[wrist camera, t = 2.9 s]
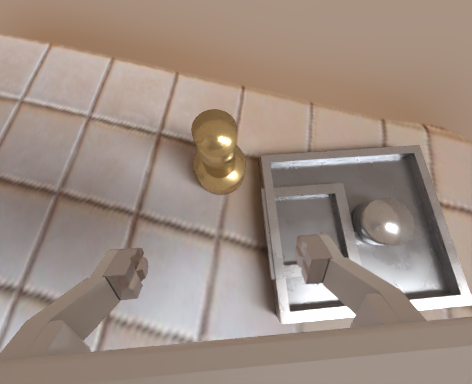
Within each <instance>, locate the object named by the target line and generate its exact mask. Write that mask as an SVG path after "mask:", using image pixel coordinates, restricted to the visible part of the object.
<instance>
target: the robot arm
mask: <svg viewBox="0 0 472 384" xmlns="http://www.w3.org/2000/svg"><path fill="white" fill-rule="evenodd" d="M296 242H297V244H298V245H297V246H296V247H295V258H296V262H297V264H298V266H300V267H301V268H302V269H301V274H302V276H303V279H304V281H305V284H319V283H323V285H324V286H325V287H326V288H327V289H328V290H329V291H330V292H331V293H333V294H334V295H335V296H336V297H337V298H338V299H339V300H340V301H341V302H342V303H343V304H344V305H345V306H347V307H348V308H349V309H350V310H351V311H352V312H353V313H354V314H355V315H356V316H355V318H354V320H353V321H352V323H351V326H350V327H351V328H344V329H334V330H323V331H312V332H301V333H290V334H279V335H268V336H257V337H246V338H235V339H224V340H213V341H203V342H192V343H181V344H170V345H159V346H149V347H138V348H127V349H116V350H105V351H95V352H90V351H91V350H90V347H89V346H88V345H87V344H86V343H85V342H84V339H85V338H86V337H87V336H88V335H89V334H90V333H91V332H92V331H93V330H94V329H95V328H96V327H97V325H98V324H99V323H100V322H101V321H102V320H103V319H104V318H105V317H106V316H107V315H108V314H109V313H110V311H111V310H112V309H113V308H114V307H115V306H116V305H117V304H118V303H119V302H120V301H119V300H128V299H137V298H138V296H139V293H140V291H141V288H142V286H143V285H142V283H141V281H142V280H143V279H145V278H146V275H147V272H148V262H147V259H146V258H144V257H143V254H144V252H143V250H142V248H130V249H114V250H109V251H108V252H107V253H106V254H105V256H104V257H103V259H102V260H101V262H100V263H99V265H98V266H97V268H96V269H95V271H94V272H93V274H92V275H91V277H90V278H86V279H85V280H83V281H82V282H81V283H79V284H78V285H77V286H75V287H74V288H72V289H71V290H70V291H68V292H67V293H65V294H64V295H63V296H61V297H60V298H58V299H57V300H56V301H54V302H53V303H51V304H50V305H49V306H47V307H46V308H45V309H43V310H42V311H40V312H39V313H38V314H36V315H35V316H33V317H32V318H31V319H29V320H28V321H26V322H25V323H24V325H23V326H22V327H21V328H20V330H19V331H18V332H17V333H16V334H15V336H14V337H13V338H12V339H11V341H10V342H9V343H8V344H7V346H6V347H5V348H4V349H3V351H2V352H1V353H0V384H472V317H463V318H452V319H441V320H431V321H426V319H425V318H424V317H423V316H422V315H421V314H420V312H419V311H418V310H417V309H416V308H415V306H414V305H413V304H412V303H411V302H410V300H409V299H408V298H407V297H406V296H405V294H404V293H403V292H402V291H401V290H400V289H398V288H397V287H395V286H393V285H392V284H390V283H388V282H387V281H385V280H383V279H382V278H380V277H378V276H377V275H375V274H374V273H372V272H370V271H369V270H367V269H365V268H364V267H362V266H360V265H359V264H357V263H355V262H354V261H352V260H351V259H349V258H347V257H346V258H344V257H343V255H342V254H341V252H340V251H339V249H338V248H337V246H336V245H335V244H334V242H333V241H332V239H331V238H330V236H329V235H328V234H327V233H324V234H313V235H301V236H298V237H297V240H296Z"/></svg>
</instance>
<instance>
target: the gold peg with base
mask: <svg viewBox="0 0 472 384" xmlns="http://www.w3.org/2000/svg"><path fill="white" fill-rule="evenodd" d="M191 131H192V136H193V138H194V141H195V144H196V146H197V149H198V151H197V153H196V155H195V158H194V163H193V166H194V171H195V174H196V176H197V178H198V180H199V181H200V183H201V185H202V186H203V187H204V188H205V189H206V190H207V191H209V192H210V193H213V194H217V195H225V194H229V193H231V192H233V191H235V190H236V189H237V188H238V187H239V186H240V185H241V183H242V181H243V178H244V173H245V167H246V160H245V156H244V154H243V152H242V151H241V149H240V148H239V147H238V146H237V145H236V139H237V125H236V122H235V120H234V119H233V117H232V116H231V115H230V114H228V113H227V112H225V111H222V110H217V109H212V110H207V111H204V112H202V113H201V114H199V115H198V116H197V117H196V118H195V120H194V122H193V124H192V129H191Z"/></svg>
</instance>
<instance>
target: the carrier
mask: <svg viewBox="0 0 472 384" xmlns="http://www.w3.org/2000/svg"><path fill="white" fill-rule="evenodd" d="M259 171H260V180H261V188H262V189H261V190H260V193H261V202H262V210H263V219H264V228H265V236H266V245H267V254H268V263H269V271H270V278H271V279H272V283H273V291H274V300H275V309H276V316H277V318H278V319H279V321H280V323H281V324H289V323H299V322H309V321H319V320H328V319H338V318H348V317H355V316H356V315H355V314H354V313H353V312H352V311H351V310H350V309H349V308H348V307H347V306H345V305H344V304H343V303H342V302H341V301H340V300H339V299H338V298H337V297H336V296H335V295H334V294H333V293H331V292H330V291H329V290H328V289H327V288H326V287H325V286H324V285H323V283H319V284H305V281H304V279H303V276H302V274H301V269H302V268H301V267H300V266H298V264H297V262H296V258H295V247H296V246H297V245H298V244H297V242H296V240H297V237H298V236H301V235H313V234H324V233H327V234H328V235H329V236H330V238H331V239H332V241H333V242H334V244H335V245H336V246H337V248H338V249H339V251H340V252H341V254H342V255H343V257H344V258H346V257H347V258H349V259H351V260H352V261H354V262H355V263H357V264H359V265H360V266H362V267H364V268H365V269H367V270H369V271H370V272H372V273H374V274H375V275H377V276H378V277H380V278H382V279H383V280H385V281H387V282H388V283H390V284H392V285H393V286H395V287H397V288H398V289H400V290H401V291H402V292H403V293H404V294H405V296H406V297H407V298H408V299H409V300H410V302H411V303H412V304H413V305H414V306H415V308H416V309H417V310H427V309H437V308H447V307H457V306H467V305H472V297H471V294H470V291H469V288H468V285H467V282H466V279H465V276H464V273H463V270H462V267H461V265H460V262H459V259H458V256H457V253H456V250H455V247H454V244H453V241H452V238H451V235H450V233H449V230H448V227H447V224H446V221H445V218H444V215H443V212H442V209H441V206H440V203H439V200H438V198H437V195H436V192H435V189H434V186H433V183H432V180H431V177H430V174H429V171H428V168H427V166H426V163H425V160H424V157H423V154H422V151H421V148H420V145H413V146H398V147H382V148H367V149H351V150H336V151H321V152H305V153H290V154H274V155H261V157H260V160H259Z"/></svg>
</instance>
